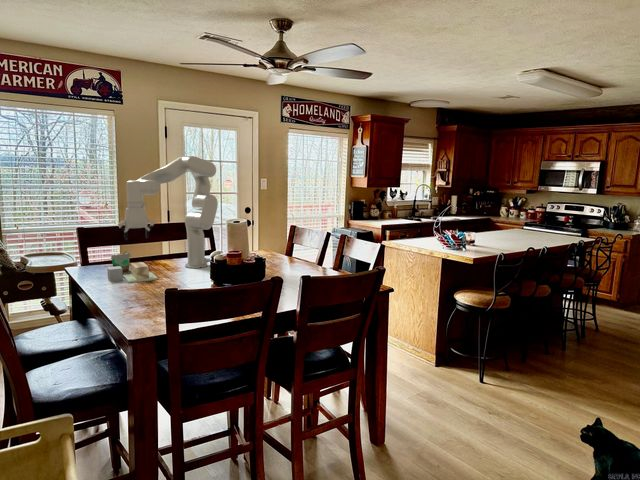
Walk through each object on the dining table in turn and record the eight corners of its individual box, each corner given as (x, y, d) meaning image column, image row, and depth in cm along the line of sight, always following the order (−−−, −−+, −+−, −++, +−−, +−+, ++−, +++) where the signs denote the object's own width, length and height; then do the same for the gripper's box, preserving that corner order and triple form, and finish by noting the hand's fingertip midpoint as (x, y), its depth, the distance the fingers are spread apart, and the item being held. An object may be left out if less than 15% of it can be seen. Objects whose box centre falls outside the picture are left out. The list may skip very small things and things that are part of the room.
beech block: (143, 273, 233) (143, 262, 232) (149, 278, 223) (148, 266, 222) (131, 274, 229) (130, 263, 228) (136, 279, 219) (135, 267, 219)
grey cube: (120, 277, 228) (120, 266, 227) (122, 279, 223) (122, 268, 222) (107, 278, 224) (107, 267, 223) (109, 281, 219) (109, 269, 218)
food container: (122, 274, 234) (121, 255, 232) (111, 273, 235) (110, 255, 233) (136, 269, 246) (135, 251, 244) (126, 268, 247) (125, 251, 245)
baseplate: (151, 273, 236) (150, 271, 236) (157, 279, 224) (157, 277, 224) (122, 276, 228) (122, 274, 228) (128, 282, 217) (128, 280, 216)
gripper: (151, 204, 228) (153, 237, 231) (115, 205, 218) (117, 239, 221) (155, 205, 222) (156, 239, 225) (118, 206, 212) (120, 241, 215)
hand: (137, 239), depth 223 cm, fingers open, 9 cm apart
